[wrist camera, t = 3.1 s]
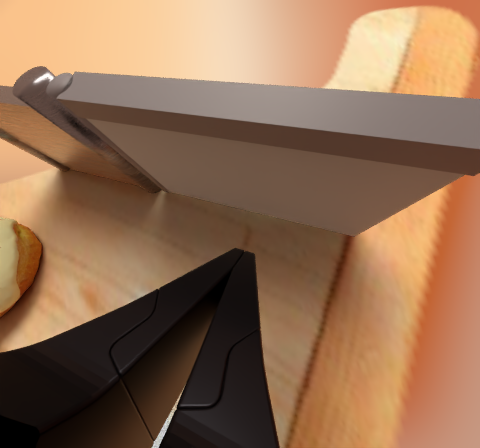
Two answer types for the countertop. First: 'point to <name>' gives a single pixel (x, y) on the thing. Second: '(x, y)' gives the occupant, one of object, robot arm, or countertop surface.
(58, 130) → the gate frame
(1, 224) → the decorated donut
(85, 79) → the gate leaf
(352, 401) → the countertop surface
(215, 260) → the robot arm
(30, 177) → the countertop surface
